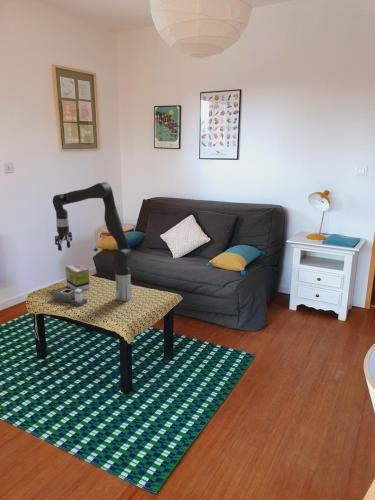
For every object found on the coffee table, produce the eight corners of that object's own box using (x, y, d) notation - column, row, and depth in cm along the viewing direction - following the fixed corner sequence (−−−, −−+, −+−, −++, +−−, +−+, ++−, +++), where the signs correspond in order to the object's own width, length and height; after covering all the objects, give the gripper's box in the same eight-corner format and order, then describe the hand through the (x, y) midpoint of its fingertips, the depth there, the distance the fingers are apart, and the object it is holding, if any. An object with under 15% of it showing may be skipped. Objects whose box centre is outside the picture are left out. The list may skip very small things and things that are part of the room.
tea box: (66, 286, 268) (64, 266, 264) (79, 283, 274) (78, 263, 270) (76, 292, 257) (75, 271, 253) (90, 289, 264) (89, 268, 260)
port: (81, 297, 249) (81, 290, 247) (71, 303, 240) (71, 295, 238) (63, 294, 253) (63, 286, 252) (53, 299, 244) (52, 292, 243)
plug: (83, 302, 241) (82, 289, 239) (79, 304, 238) (78, 291, 236) (78, 302, 242) (77, 288, 240) (75, 304, 239) (74, 290, 237)
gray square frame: (87, 302, 242) (87, 299, 241) (80, 306, 236) (80, 303, 235) (77, 300, 244) (77, 297, 244) (70, 304, 238) (70, 301, 238)
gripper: (60, 227, 243) (61, 252, 248) (74, 223, 256) (75, 247, 261) (50, 226, 246) (52, 251, 250) (65, 222, 259) (66, 246, 263)
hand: (64, 249), depth 255 cm, fingers open, 8 cm apart
